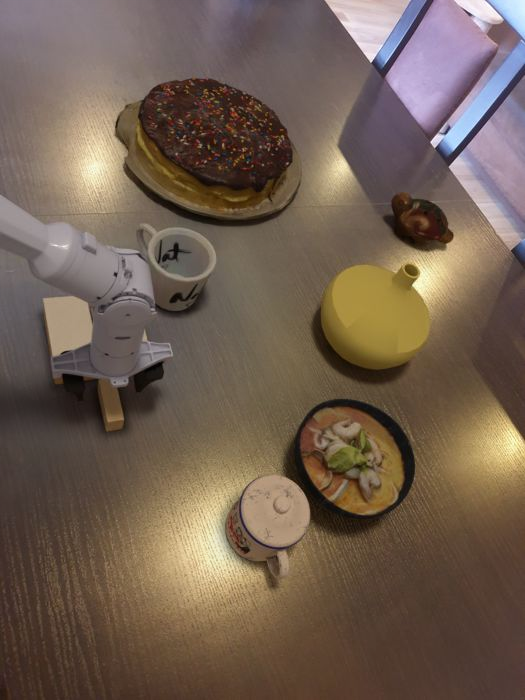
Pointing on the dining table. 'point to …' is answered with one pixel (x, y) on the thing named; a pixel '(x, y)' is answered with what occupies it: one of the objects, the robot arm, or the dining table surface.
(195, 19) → the dining table surface
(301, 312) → the dining table surface
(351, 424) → the bowl
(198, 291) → the mug
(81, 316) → the sponge cake
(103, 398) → the knife
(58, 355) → the robot arm
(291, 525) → the teacup with lid
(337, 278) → the vase
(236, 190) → the cake
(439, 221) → the decorative turtle
